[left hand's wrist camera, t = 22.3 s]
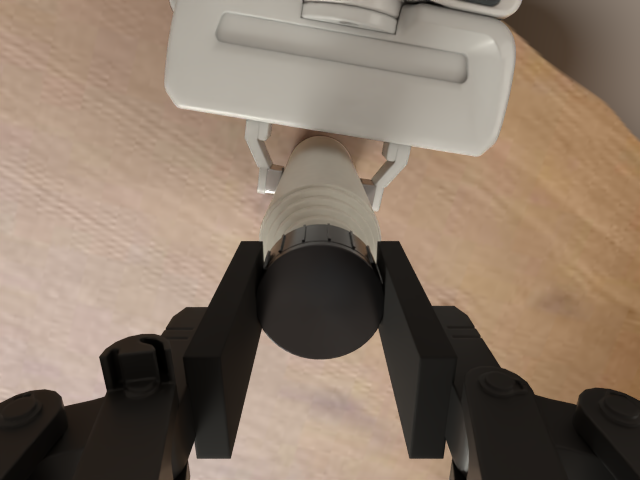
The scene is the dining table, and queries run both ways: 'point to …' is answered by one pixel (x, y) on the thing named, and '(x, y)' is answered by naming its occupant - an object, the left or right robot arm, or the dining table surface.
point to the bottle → (320, 195)
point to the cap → (320, 292)
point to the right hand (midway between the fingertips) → (318, 200)
